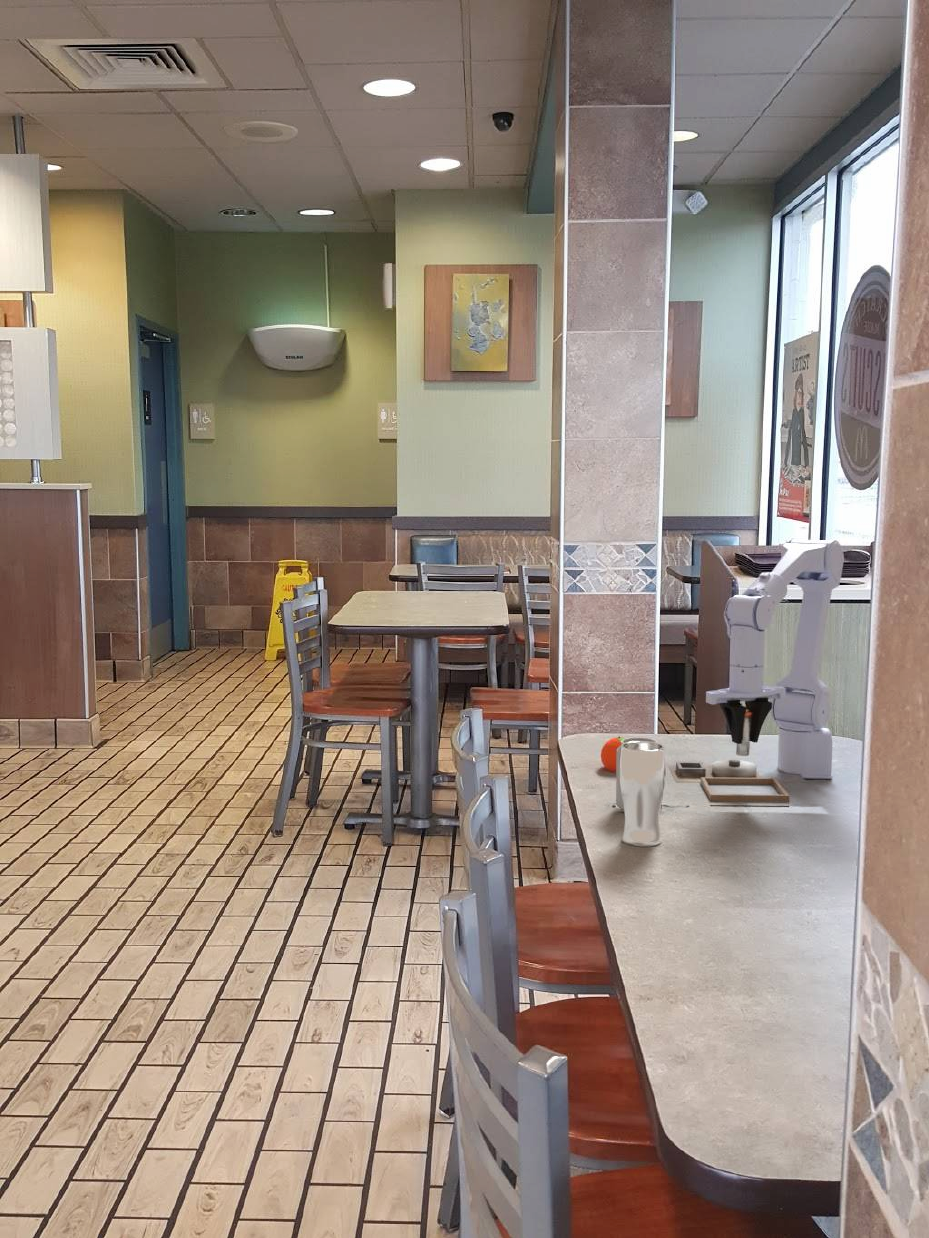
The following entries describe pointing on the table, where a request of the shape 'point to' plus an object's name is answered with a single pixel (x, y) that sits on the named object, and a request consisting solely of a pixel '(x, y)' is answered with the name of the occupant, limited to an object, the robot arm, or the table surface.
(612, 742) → the clementine
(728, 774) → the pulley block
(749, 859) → the table surface
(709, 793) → the tray
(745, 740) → the lock pin
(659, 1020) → the table surface
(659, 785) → the beer glass
